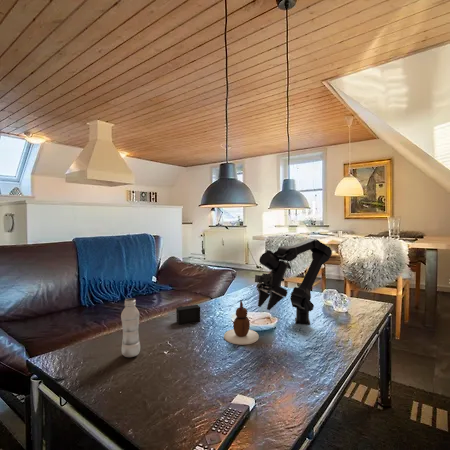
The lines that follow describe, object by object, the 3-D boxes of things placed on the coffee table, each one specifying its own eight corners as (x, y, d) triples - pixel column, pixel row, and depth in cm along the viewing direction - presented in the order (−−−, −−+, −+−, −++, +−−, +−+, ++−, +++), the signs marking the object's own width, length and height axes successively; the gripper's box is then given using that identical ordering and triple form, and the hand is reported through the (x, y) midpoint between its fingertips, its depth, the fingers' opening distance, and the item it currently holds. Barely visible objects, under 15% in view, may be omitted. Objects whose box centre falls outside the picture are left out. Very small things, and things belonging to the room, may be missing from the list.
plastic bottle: (123, 361, 101) (122, 303, 100) (120, 353, 107) (119, 298, 106) (142, 357, 104) (141, 301, 103) (138, 349, 110) (137, 296, 109)
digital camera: (196, 317, 143) (196, 303, 143) (200, 321, 138) (200, 306, 138) (175, 321, 139) (175, 306, 139) (178, 325, 134) (178, 309, 134)
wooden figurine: (243, 339, 116) (243, 302, 116) (231, 336, 120) (231, 299, 119) (251, 334, 122) (251, 298, 121) (240, 330, 125) (240, 295, 125)
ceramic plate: (227, 329, 129) (227, 327, 129) (259, 331, 126) (259, 329, 126) (221, 343, 115) (221, 341, 115) (257, 346, 113) (257, 344, 113)
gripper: (253, 265, 135) (239, 297, 131) (271, 266, 117) (255, 303, 114) (273, 276, 137) (260, 308, 134) (294, 278, 120) (279, 314, 116)
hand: (263, 308), depth 124 cm, fingers open, 9 cm apart
